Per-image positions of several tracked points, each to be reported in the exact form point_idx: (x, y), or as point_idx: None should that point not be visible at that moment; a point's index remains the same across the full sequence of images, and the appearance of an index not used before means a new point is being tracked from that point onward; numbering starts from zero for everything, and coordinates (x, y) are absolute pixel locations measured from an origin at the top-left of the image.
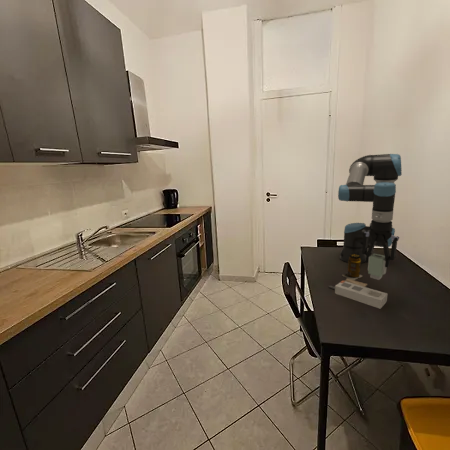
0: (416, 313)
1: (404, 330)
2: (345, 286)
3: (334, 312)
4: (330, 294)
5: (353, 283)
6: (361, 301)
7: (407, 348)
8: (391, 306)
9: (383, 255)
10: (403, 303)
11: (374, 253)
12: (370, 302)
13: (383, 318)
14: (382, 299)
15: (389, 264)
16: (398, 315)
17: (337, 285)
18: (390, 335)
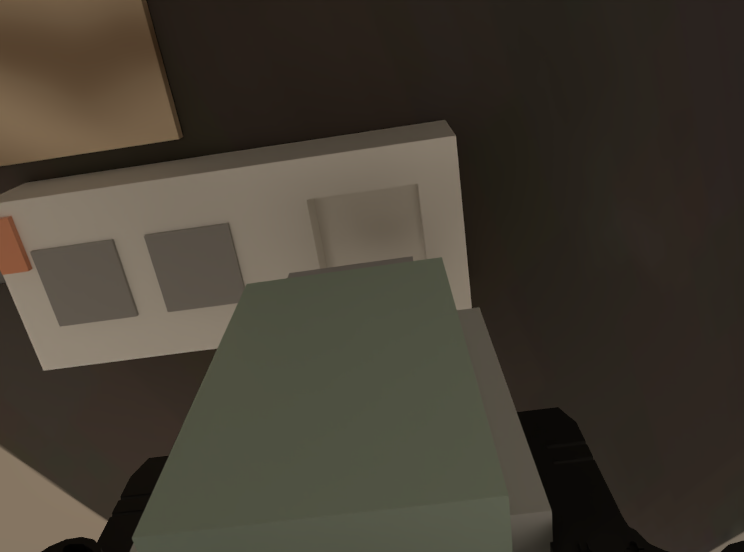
0: (701, 122)
1: (676, 409)
2: (107, 319)
3: None
4: (77, 367)
5: (15, 12)
6: None
7: (723, 538)
8: (507, 169)
9: (419, 513)
10: (568, 19)
11: (147, 537)
12: None
13: (529, 380)
14: (469, 285)
15: (585, 444)
16: (595, 266)
17: (47, 349)
18: (624, 505)
